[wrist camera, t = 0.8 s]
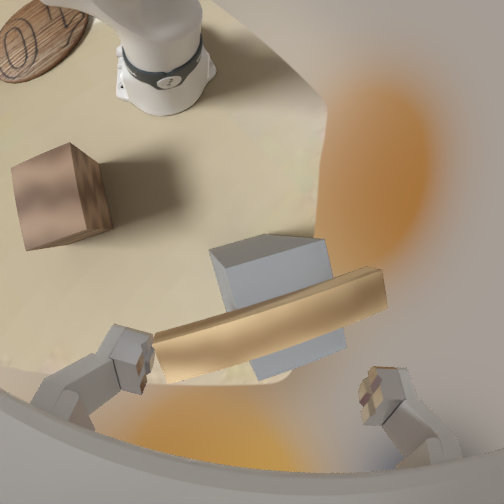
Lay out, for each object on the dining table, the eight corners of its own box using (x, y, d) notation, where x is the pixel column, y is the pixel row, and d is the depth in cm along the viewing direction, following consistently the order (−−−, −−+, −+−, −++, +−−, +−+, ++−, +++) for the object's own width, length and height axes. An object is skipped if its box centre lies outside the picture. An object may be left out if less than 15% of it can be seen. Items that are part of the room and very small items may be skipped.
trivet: (70, -19, 43) (68, -23, 41) (106, 34, 47) (104, 29, 45) (-14, 42, 40) (-18, 39, 38) (7, 106, 44) (3, 103, 42)
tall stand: (208, 249, 54) (225, 268, 29) (263, 234, 56) (324, 239, 31) (227, 315, 56) (258, 380, 30) (280, 298, 57) (346, 348, 32)
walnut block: (50, 181, 48) (11, 168, 33) (98, 163, 49) (69, 142, 35) (64, 245, 49) (26, 251, 35) (113, 229, 51) (86, 229, 36)
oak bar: (155, 333, 28) (152, 344, 25) (366, 266, 32) (382, 269, 29) (169, 369, 29) (168, 383, 26) (372, 301, 32) (388, 307, 29)
